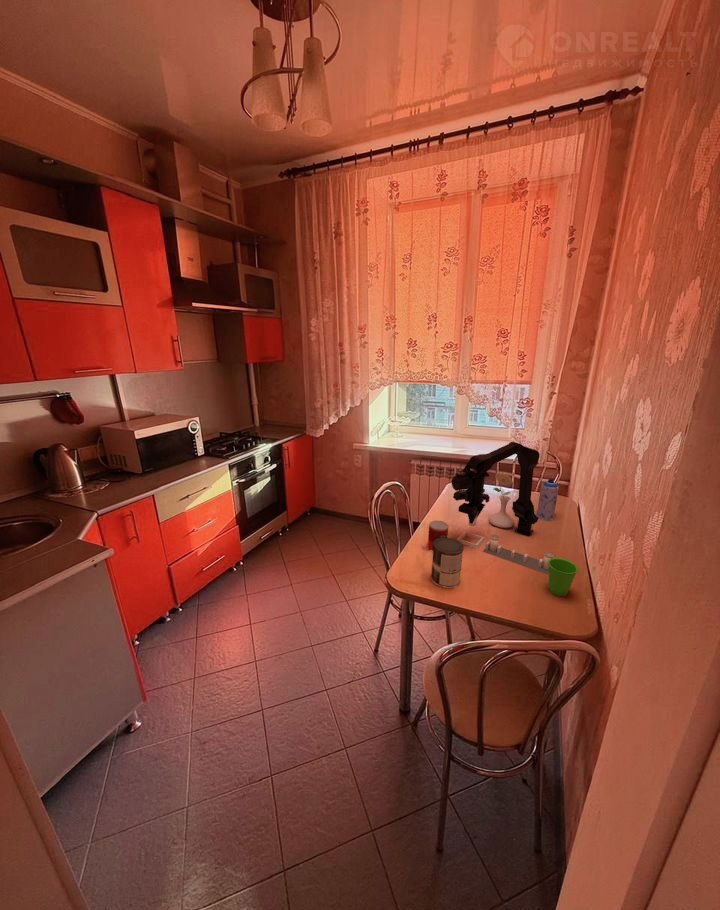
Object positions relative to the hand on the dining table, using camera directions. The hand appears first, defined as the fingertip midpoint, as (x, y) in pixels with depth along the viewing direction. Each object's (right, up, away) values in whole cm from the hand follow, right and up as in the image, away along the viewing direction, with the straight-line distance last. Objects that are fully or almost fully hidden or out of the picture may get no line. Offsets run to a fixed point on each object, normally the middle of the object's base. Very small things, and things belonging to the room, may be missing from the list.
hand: (472, 521), depth 150 cm
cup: (+20, -19, -28) cm, 40 cm away
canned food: (-15, -11, -1) cm, 19 cm away
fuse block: (+15, -13, -10) cm, 22 cm away
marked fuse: (0, -1, 0) cm, 1 cm away
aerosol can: (+44, -3, +27) cm, 52 cm away
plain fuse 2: (+23, -14, -16) cm, 31 cm away
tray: (0, -10, +3) cm, 10 cm away
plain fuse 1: (+7, -11, -4) cm, 13 cm away
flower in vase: (+19, -5, +20) cm, 28 cm away
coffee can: (-16, -17, -21) cm, 32 cm away
